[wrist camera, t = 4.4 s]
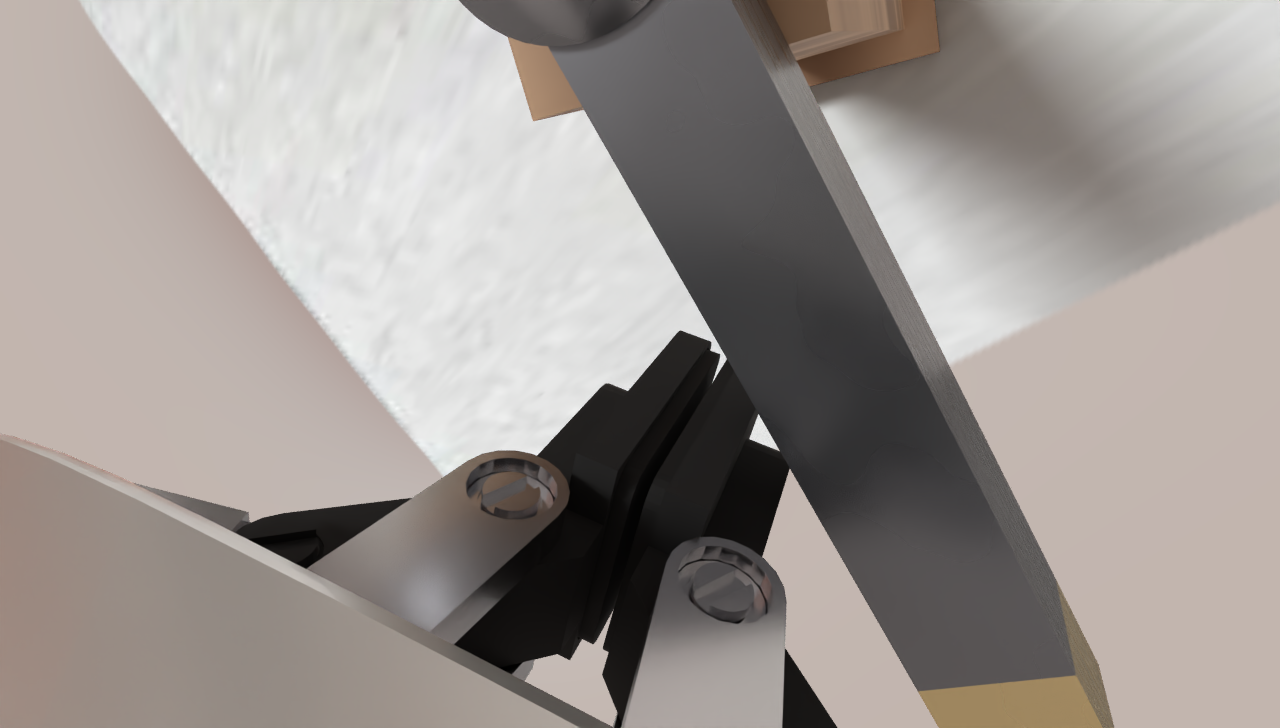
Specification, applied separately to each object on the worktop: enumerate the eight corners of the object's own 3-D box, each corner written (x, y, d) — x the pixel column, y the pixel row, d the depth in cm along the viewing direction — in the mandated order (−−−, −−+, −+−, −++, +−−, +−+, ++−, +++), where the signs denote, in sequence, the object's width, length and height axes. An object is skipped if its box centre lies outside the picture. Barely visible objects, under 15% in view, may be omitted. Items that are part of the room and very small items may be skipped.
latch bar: (459, -138, 8) (350, -176, 7) (658, -367, 7) (575, -485, 5) (924, 678, 11) (921, 785, 9) (1148, 653, 9) (1188, 777, 8)
